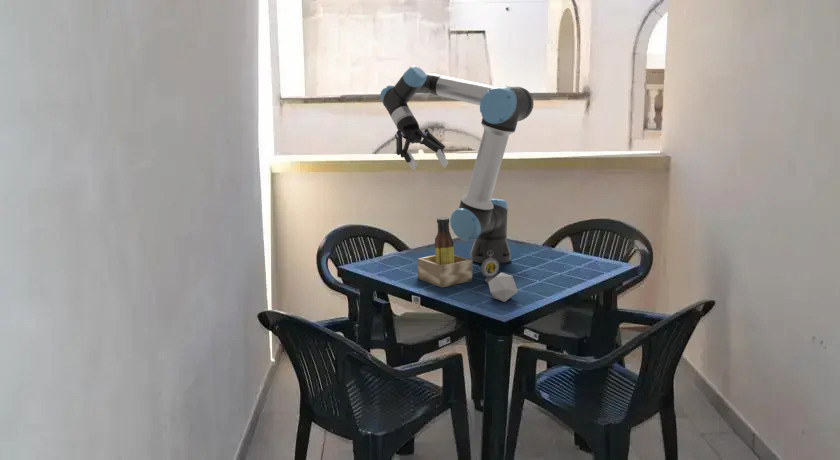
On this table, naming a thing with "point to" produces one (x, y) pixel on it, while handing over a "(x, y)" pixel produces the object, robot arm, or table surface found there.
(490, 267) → the pocket watch
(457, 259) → the crate
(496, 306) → the table surface
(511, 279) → the die
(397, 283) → the table surface
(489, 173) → the robot arm
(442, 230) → the sauce bottle
